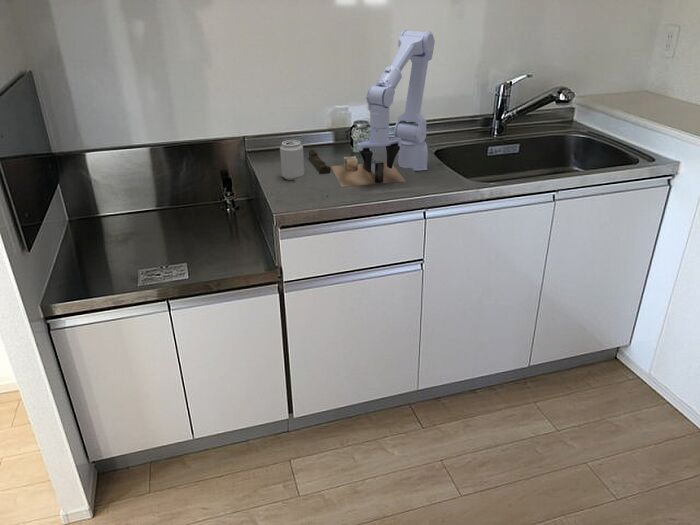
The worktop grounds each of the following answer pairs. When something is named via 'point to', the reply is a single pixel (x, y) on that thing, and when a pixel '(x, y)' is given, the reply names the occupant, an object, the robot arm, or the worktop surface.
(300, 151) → the can
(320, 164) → the hand tool
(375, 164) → the lever
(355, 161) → the beige cylinder plug
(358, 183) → the board
